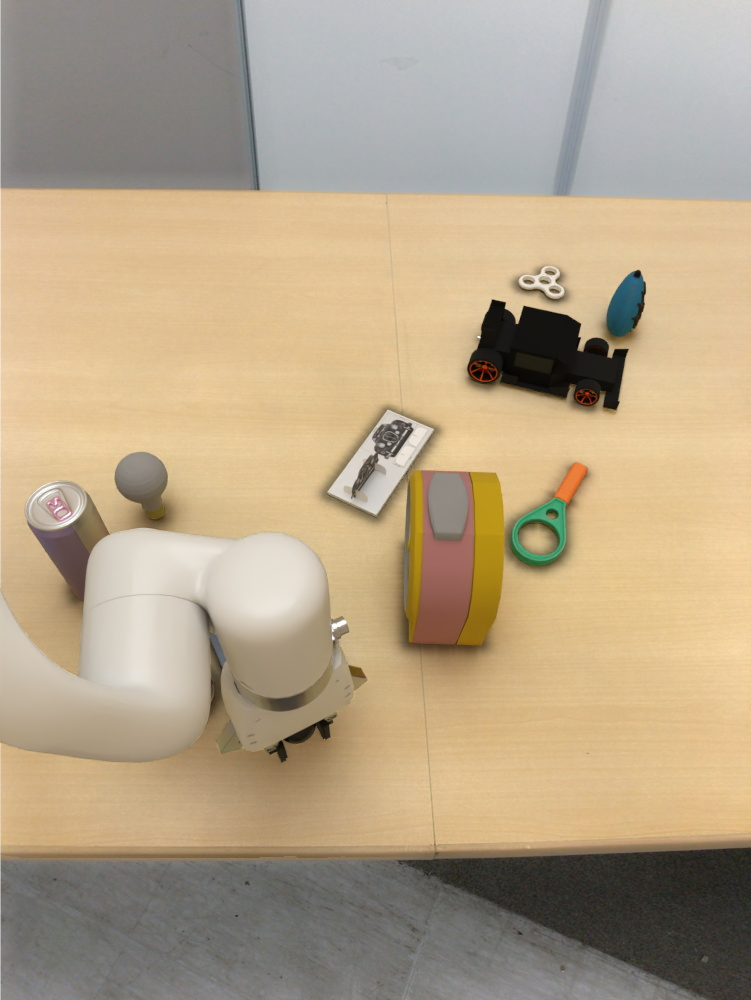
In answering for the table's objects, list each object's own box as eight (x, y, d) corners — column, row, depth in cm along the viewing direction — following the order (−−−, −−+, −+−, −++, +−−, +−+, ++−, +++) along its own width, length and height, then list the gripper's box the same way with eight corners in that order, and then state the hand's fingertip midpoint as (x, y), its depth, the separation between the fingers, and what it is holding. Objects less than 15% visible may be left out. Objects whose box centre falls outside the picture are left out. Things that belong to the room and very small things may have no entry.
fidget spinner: (551, 267, 112) (552, 262, 112) (578, 291, 109) (579, 286, 109) (514, 282, 110) (515, 277, 110) (541, 307, 107) (542, 302, 107)
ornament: (630, 352, 102) (653, 294, 94) (596, 343, 103) (616, 285, 95) (639, 314, 107) (661, 256, 99) (607, 306, 108) (627, 248, 100)
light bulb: (141, 492, 88) (118, 438, 79) (186, 498, 87) (167, 444, 79) (126, 531, 84) (100, 479, 76) (172, 537, 84) (152, 485, 76)
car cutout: (376, 517, 86) (377, 494, 82) (327, 494, 88) (325, 471, 84) (433, 431, 94) (436, 407, 90) (387, 411, 95) (388, 387, 92)
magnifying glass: (548, 575, 82) (552, 568, 81) (499, 550, 84) (502, 542, 82) (601, 483, 89) (605, 474, 88) (555, 461, 91) (558, 452, 90)
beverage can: (91, 617, 78) (40, 543, 66) (64, 579, 81) (10, 501, 68) (140, 584, 80) (100, 506, 68) (112, 549, 83) (69, 467, 71)
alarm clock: (403, 535, 85) (411, 431, 70) (474, 538, 85) (499, 434, 70) (401, 658, 76) (411, 570, 61) (481, 661, 76) (511, 573, 61)
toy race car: (614, 414, 96) (631, 374, 90) (464, 379, 99) (470, 338, 93) (624, 360, 101) (640, 319, 95) (481, 328, 105) (488, 286, 99)
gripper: (359, 571, 58) (360, 662, 73) (155, 664, 53) (200, 741, 68) (406, 650, 54) (396, 729, 69) (191, 757, 50) (230, 818, 65)
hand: (299, 735), depth 69 cm, fingers closed on switch lever, 3 cm apart
